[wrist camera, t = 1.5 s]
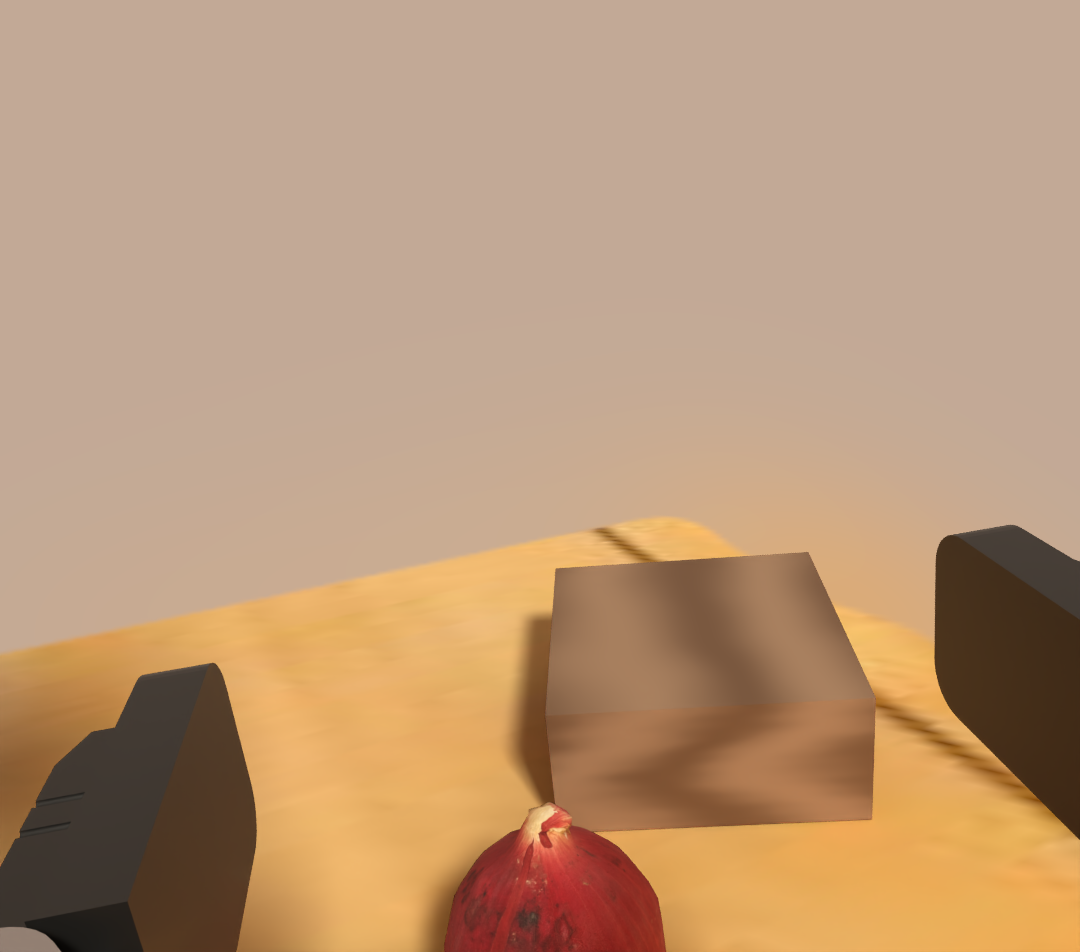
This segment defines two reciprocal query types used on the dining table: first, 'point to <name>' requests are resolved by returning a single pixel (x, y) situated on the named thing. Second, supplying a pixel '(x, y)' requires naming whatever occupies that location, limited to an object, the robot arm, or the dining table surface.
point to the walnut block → (705, 697)
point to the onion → (554, 894)
